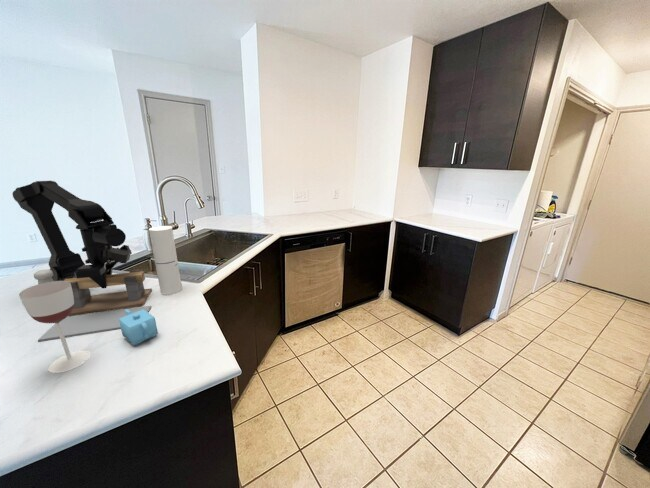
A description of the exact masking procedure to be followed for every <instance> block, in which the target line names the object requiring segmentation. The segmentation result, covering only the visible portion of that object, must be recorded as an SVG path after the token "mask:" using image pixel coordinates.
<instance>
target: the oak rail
mask: <svg viewBox="0 0 650 488" xmlns="http://www.w3.org/2000/svg"><path fill="white" fill-rule="evenodd" d="M128 276H136V280H137V283H142V282H143V283H144V282H145V280H146V276H145V271H143V270H142V271H141V272H132V273H129V272H123V273H112V274H111V275H106V282H107V287H115V286H122V285H125V281H124V277H128ZM64 281H68V282H77V283H78V286H79V289H87V288H89V289H94V288H101V287H100V286H99V285H98V284H97V283H96V282H95V281H93V280H92V279H91V278H89V277H88V278H78V279H77V278H70V279H65V280H64Z"/></svg>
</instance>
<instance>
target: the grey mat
mask: <svg viewBox="0 0 650 488" xmlns="http://www.w3.org/2000/svg"><path fill="white" fill-rule="evenodd" d="M127 309H128V310H130V312H131V313H135V312H137V311H140V310H142V309H144V310H145V311H147V312H148V313H149V312H150V310H151V309H152V305H145V306H141V307H134V308H127ZM125 310H126V309H119V310H112V311H105V312H97V313H90V314H83V315H75V316H68V317H66V318H65V319H63V320H62V321H60V324H61V327H62V330H63V333H64V336H65V338H70V337H78V336H83V335H84V336H85V335H90V334H97V333H104V332H109V331H115V330H121V327H120V323H119V318H122V317H124V316H127V313H126V311H125ZM149 314H150V313H149ZM58 339H60V336H59V333H58V330H57V327H56V324H55V323H53V325H52V326H51V327H50V328H49V329H48V330H47V331H46V332H45V333H43V334H42V335H41V336H40V337H39V338H38V339H37V342H38V343H39V342H45V341H46V342H47V341H51V340H58Z"/></svg>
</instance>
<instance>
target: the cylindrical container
mask: <svg viewBox="0 0 650 488" xmlns="http://www.w3.org/2000/svg"><path fill="white" fill-rule="evenodd" d="M148 233H149V237H150V242H151V249H152V253H153V259H154V263H155V264H154V265H155V269H156V274H157V275H156V276H157V279H158V286H159V291H160V294H161V295H164V296H170V295H174V294H177V293H180V292H181V291H182V290H183V286H182V281H181V280H182V279H181V273H180V267H179V262H178V257H177V249H176V243H175V237H174V231H173V226H171V225H160V226H153V227H150V228H149V229H148Z"/></svg>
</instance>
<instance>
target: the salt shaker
mask: <svg viewBox="0 0 650 488" xmlns="http://www.w3.org/2000/svg"><path fill="white" fill-rule="evenodd" d="M52 276H53V271H52V270H50V269H40V270H38V271H36V272H34V273H33V278H34V280H35V281H36V280H37V285H38V284H42V283H46V282H52V281H54V280H53V279H52Z"/></svg>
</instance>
